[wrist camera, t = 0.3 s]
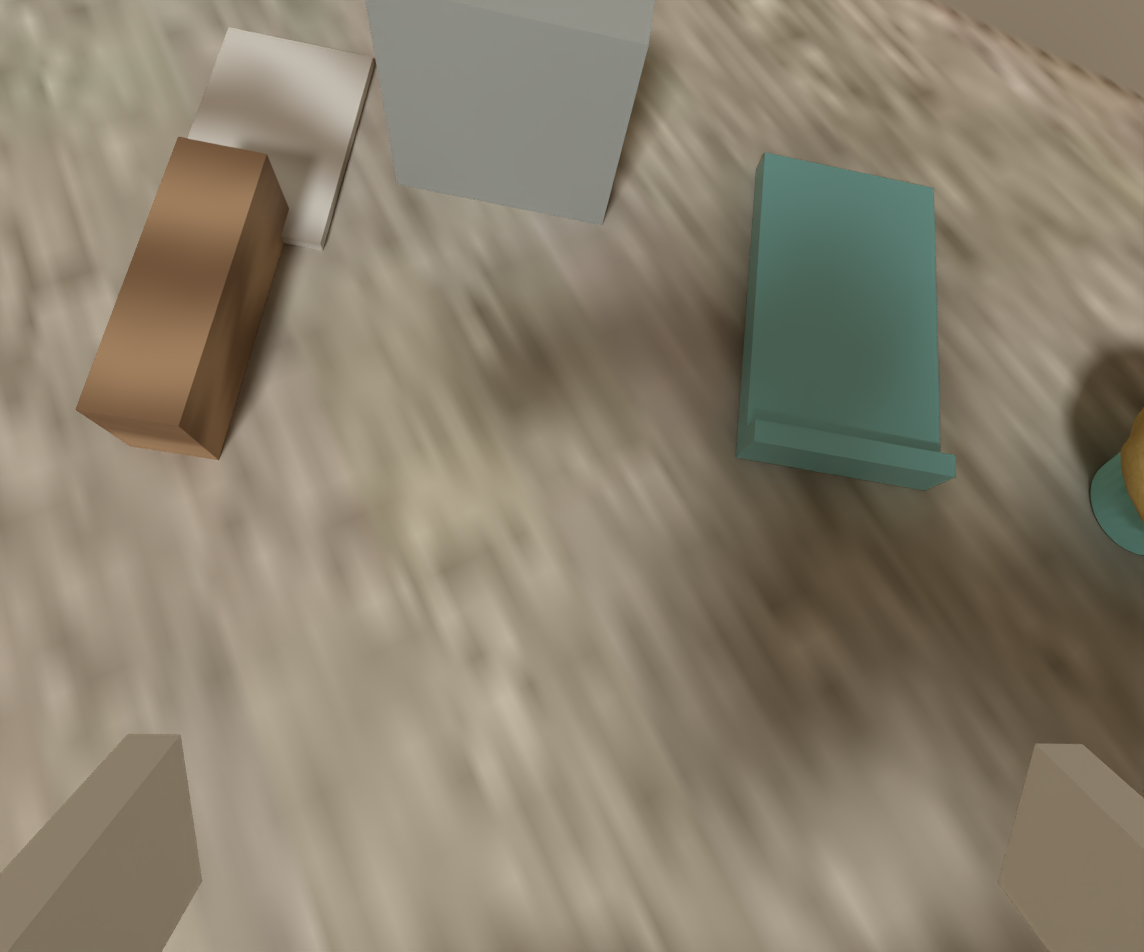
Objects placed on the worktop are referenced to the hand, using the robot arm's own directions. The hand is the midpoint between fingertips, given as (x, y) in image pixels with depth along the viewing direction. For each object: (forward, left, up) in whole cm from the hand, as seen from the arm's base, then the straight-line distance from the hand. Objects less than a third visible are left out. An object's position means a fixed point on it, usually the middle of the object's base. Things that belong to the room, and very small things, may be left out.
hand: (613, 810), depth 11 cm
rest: (+21, -12, -17) cm, 29 cm away
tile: (+25, +5, -17) cm, 30 cm away
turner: (+19, +16, -17) cm, 30 cm away
